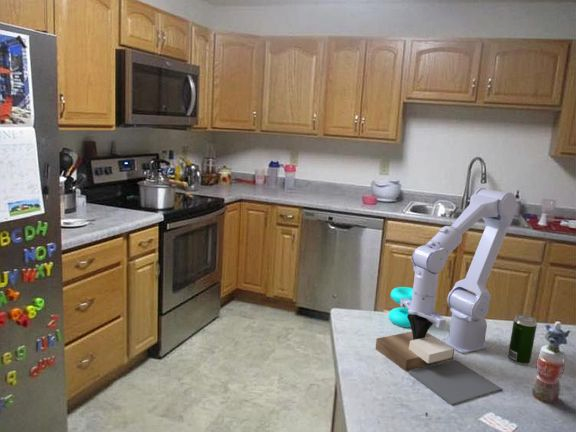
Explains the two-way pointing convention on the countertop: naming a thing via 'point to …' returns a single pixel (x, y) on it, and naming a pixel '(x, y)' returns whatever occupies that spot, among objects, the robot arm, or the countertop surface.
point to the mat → (454, 382)
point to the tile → (430, 349)
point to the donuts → (400, 314)
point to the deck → (402, 351)
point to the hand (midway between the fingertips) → (418, 341)
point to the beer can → (522, 339)
